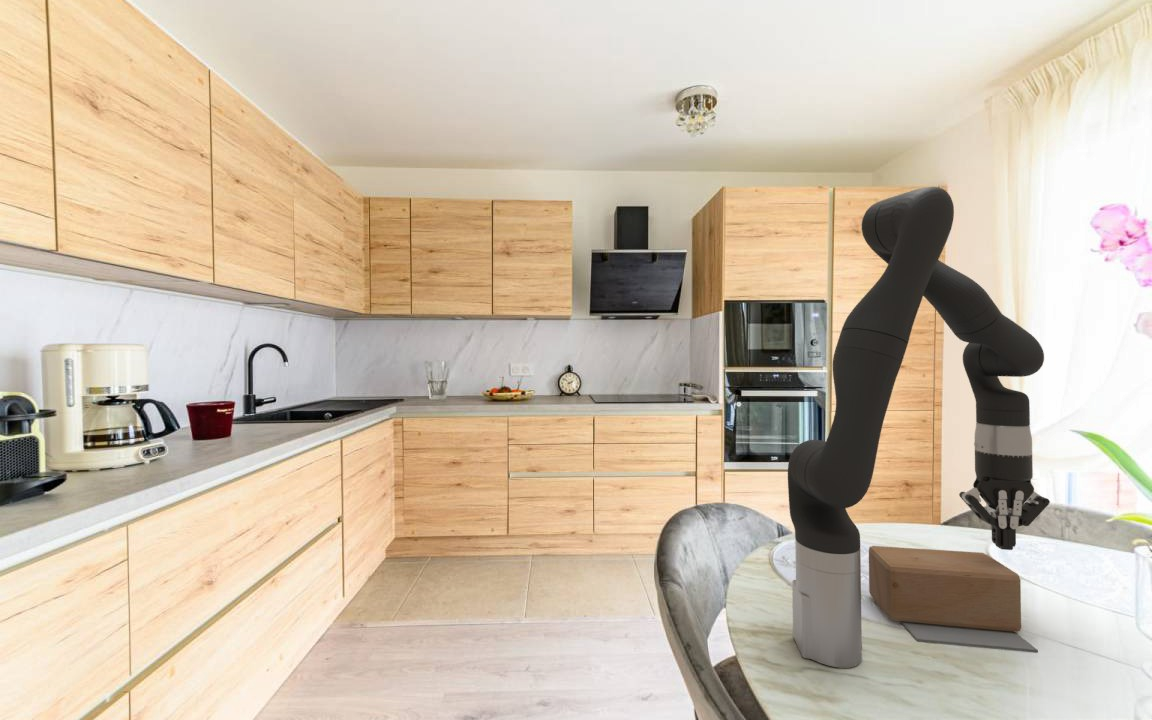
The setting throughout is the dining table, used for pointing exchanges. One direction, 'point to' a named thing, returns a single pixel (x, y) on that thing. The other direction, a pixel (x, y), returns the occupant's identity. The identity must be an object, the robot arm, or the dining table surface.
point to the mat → (967, 636)
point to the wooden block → (945, 588)
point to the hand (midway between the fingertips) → (1003, 547)
